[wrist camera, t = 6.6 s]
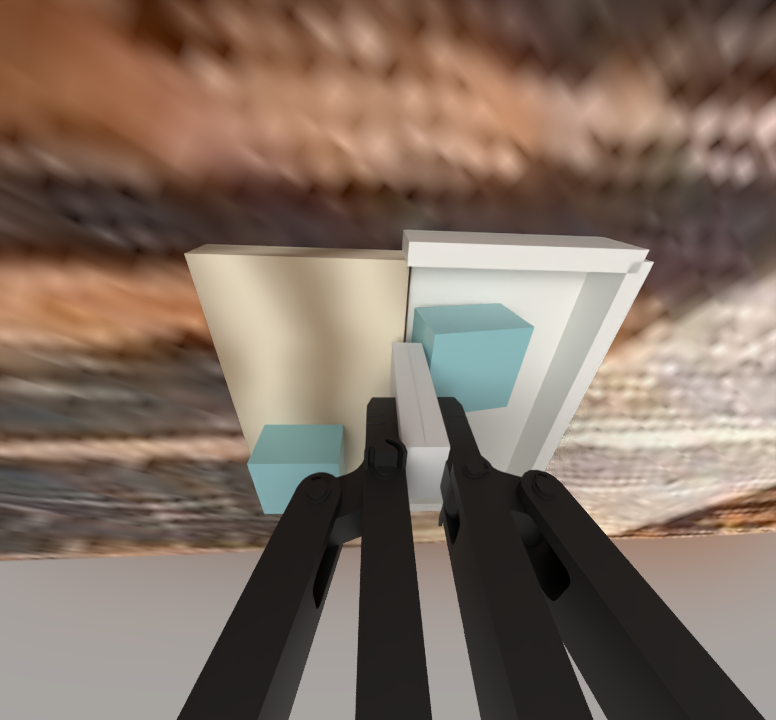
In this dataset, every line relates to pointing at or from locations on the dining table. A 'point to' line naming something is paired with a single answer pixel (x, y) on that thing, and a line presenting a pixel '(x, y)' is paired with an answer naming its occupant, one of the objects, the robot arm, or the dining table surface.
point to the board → (303, 332)
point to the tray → (540, 309)
